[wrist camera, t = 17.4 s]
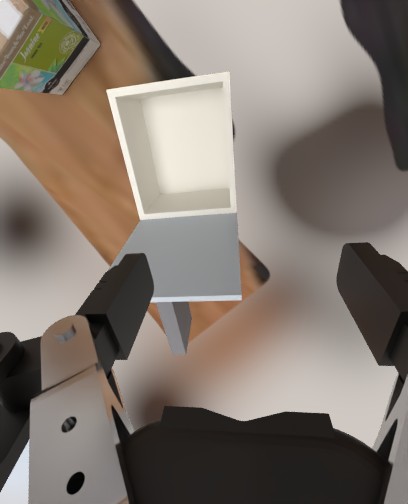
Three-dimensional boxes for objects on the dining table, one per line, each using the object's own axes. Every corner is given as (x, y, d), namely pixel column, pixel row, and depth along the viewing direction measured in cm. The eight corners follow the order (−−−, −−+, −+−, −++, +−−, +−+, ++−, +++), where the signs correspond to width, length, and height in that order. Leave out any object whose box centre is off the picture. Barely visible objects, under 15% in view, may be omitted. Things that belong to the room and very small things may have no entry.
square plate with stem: (89, 299, 23) (118, 353, 28) (241, 294, 21) (244, 354, 26) (140, 220, 36) (154, 266, 41) (236, 213, 34) (239, 262, 39)
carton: (135, 93, 37) (106, 89, 28) (229, 79, 35) (229, 70, 26) (157, 197, 45) (140, 219, 36) (235, 191, 43) (236, 212, 34)
